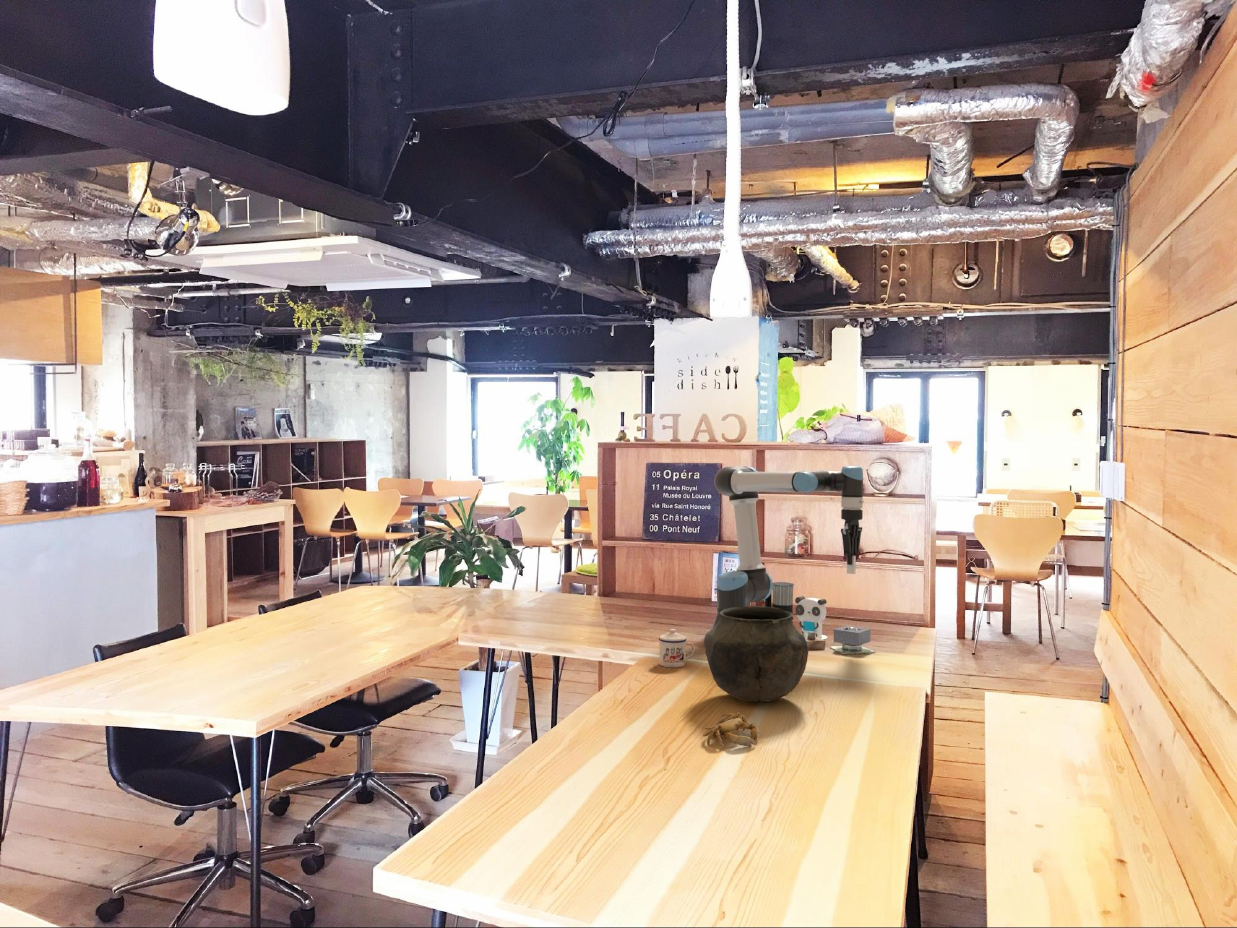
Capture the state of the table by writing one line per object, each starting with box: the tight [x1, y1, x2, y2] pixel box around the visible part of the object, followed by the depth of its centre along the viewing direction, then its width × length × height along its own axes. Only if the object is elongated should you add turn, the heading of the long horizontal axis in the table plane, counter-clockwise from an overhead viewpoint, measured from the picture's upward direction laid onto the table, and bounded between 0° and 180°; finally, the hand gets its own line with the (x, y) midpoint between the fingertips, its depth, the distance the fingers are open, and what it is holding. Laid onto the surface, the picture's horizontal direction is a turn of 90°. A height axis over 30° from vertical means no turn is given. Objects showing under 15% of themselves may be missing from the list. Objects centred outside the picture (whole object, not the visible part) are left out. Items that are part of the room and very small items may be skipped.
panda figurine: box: [794, 595, 828, 641], centre depth 342 cm, size 12×11×15 cm
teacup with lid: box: [658, 628, 696, 669], centre depth 296 cm, size 12×9×12 cm
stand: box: [805, 631, 826, 651], centre depth 324 cm, size 7×7×6 cm
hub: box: [828, 626, 876, 655], centre depth 320 cm, size 12×11×8 cm
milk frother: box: [764, 581, 795, 620], centre depth 378 cm, size 14×16×15 cm
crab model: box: [702, 712, 760, 750], centre depth 219 cm, size 16×13×6 cm
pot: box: [703, 605, 809, 703], centre depth 255 cm, size 29×32×25 cm
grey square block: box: [833, 625, 871, 646], centre depth 320 cm, size 10×10×4 cm
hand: (851, 573), depth 327 cm, fingers closed
